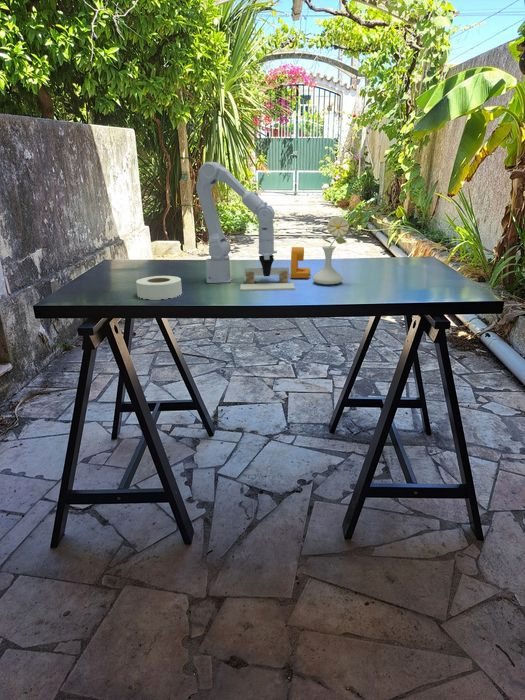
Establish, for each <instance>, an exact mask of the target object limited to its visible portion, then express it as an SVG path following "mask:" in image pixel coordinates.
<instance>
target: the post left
mask: <svg viewBox="0 0 525 700" xmlns="http://www.w3.org/2000/svg"><path fill="white" fill-rule="evenodd" d="M245 284H255V276H254V273H246V276H245Z"/></svg>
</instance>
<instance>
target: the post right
mask: <svg viewBox="0 0 525 700" xmlns="http://www.w3.org/2000/svg"><path fill="white" fill-rule="evenodd" d="M278 277H279V279H278V282H279V283H289V280H288V278H289V275H288V272H280V275H278Z"/></svg>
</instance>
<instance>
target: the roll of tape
mask: <svg viewBox="0 0 525 700" xmlns="http://www.w3.org/2000/svg"><path fill="white" fill-rule="evenodd" d="M135 284H136V295H137V298H139V297H140V298H139V299H141V298H143V299H142V300H145V299H149V300H148V301H162V300H161V299H164V300H169V299H168V298H171V299H175V298H178V297H180V296H182V295H183V290H182V289H183V287H182V279H181V277H179V276H173V275H155V276H147V277H143V278H139V279H137V280H136V281H135ZM181 294H182V295H181ZM179 295H180V296H179ZM177 296H178V297H177ZM174 297H175V298H174Z"/></svg>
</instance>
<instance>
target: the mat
mask: <svg viewBox="0 0 525 700" xmlns="http://www.w3.org/2000/svg"><path fill="white" fill-rule="evenodd" d="M239 287H240V289H239V291H241V292H244V291H246V292H248V291H249V290H253V291H292V290H293V291H295V290H296V286H295V284H294V283H293V282H290V283H289V282H288V283H280V282H278V283H254V284H246V283H240V286H239Z"/></svg>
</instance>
